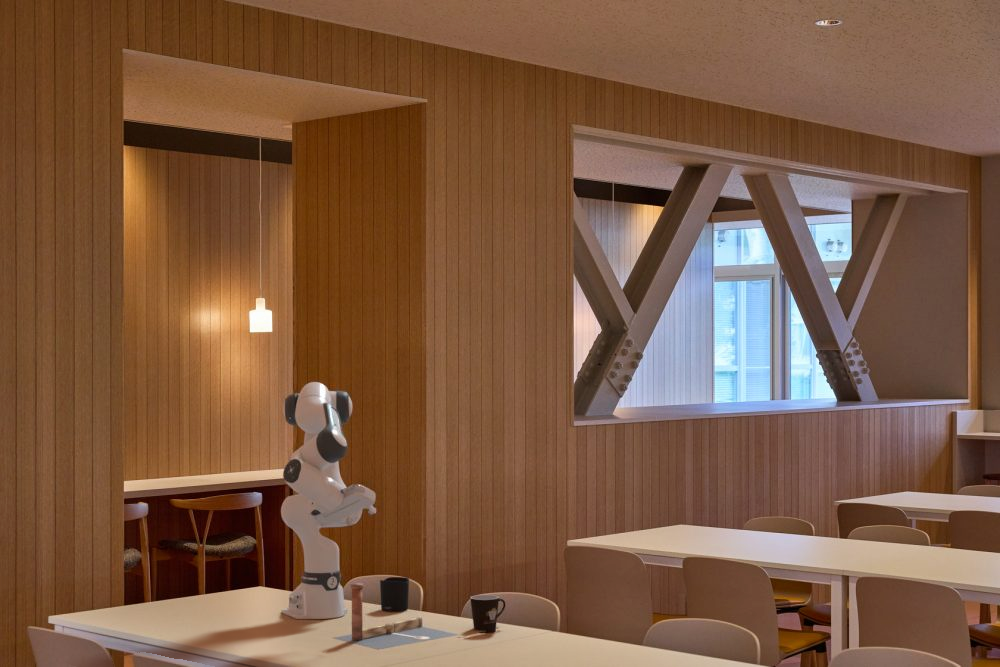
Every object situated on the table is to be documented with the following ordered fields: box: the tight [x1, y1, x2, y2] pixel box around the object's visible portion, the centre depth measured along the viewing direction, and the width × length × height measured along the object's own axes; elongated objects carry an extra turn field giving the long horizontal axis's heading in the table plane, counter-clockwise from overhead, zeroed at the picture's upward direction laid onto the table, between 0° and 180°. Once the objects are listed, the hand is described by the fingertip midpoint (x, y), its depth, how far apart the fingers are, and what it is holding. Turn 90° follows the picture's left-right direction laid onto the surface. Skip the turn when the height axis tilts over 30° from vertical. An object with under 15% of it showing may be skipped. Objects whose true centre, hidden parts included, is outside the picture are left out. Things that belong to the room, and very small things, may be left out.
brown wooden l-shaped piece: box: [350, 582, 386, 640], centre depth 359 cm, size 13×4×16 cm, turn 140°
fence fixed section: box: [384, 617, 423, 634], centre depth 370 cm, size 15×3×2 cm, turn 140°
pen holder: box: [379, 576, 410, 613], centre depth 408 cm, size 9×9×10 cm
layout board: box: [333, 626, 459, 650], centre depth 361 cm, size 22×29×1 cm
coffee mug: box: [469, 594, 506, 634], centre depth 372 cm, size 12×9×10 cm
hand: (362, 517), depth 370 cm, fingers open, 8 cm apart
